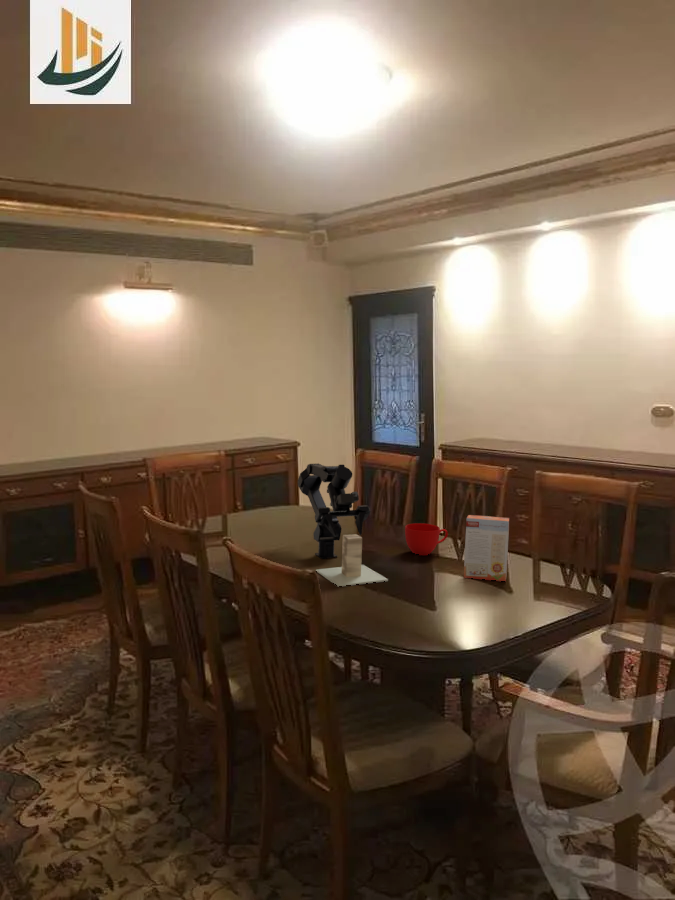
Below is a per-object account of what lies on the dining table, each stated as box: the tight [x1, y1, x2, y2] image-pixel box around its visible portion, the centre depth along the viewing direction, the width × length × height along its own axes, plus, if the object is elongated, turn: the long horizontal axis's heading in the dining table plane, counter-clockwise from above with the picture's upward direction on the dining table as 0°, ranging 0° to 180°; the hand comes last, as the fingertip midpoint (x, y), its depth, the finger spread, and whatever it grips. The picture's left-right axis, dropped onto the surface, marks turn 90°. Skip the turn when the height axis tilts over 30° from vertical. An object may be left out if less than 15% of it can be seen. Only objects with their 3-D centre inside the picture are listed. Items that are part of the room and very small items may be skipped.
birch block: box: [341, 533, 363, 577], centre depth 242 cm, size 5×5×13 cm
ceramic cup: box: [404, 522, 449, 556], centre depth 275 cm, size 13×17×10 cm
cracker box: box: [463, 514, 510, 582], centre depth 245 cm, size 14×6×21 cm, turn 74°
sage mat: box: [315, 564, 389, 588], centre depth 243 cm, size 18×18×1 cm
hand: (348, 535), depth 245 cm, fingers open, 9 cm apart
